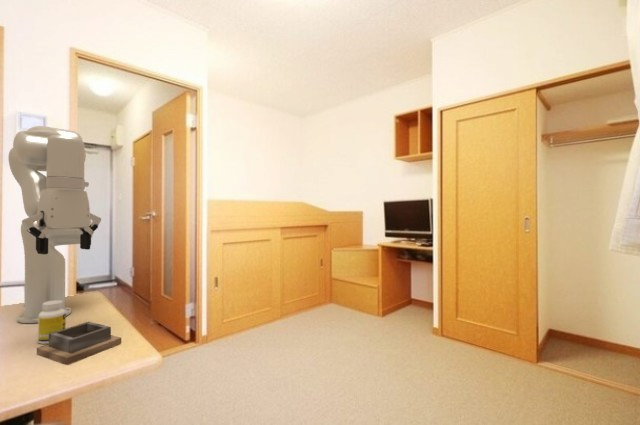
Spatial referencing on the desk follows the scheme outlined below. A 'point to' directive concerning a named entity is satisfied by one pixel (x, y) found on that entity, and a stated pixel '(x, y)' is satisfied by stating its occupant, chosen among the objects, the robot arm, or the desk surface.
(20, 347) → the desk surface
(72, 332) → the socket stand
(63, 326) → the supplement bottle
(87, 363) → the desk surface
